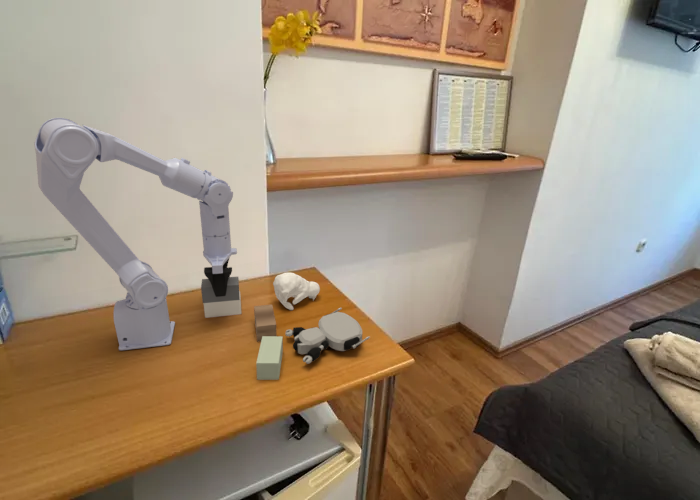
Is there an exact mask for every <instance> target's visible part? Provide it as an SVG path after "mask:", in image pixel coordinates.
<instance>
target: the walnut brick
mask: <svg viewBox="0 0 700 500" xmlns="http://www.w3.org/2000/svg"><path fill="white" fill-rule="evenodd" d="M253 310H254V311H253V312H254V323H255V324H254V326H255V333H256V342H257V343H259V342H261V340H262V336H277V322H276V316H275V312H274V307H273V304H264V305H263V304H262V305H254V306H253Z"/></svg>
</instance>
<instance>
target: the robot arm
mask: <svg viewBox="0 0 700 500" xmlns="http://www.w3.org/2000/svg"><path fill="white" fill-rule="evenodd" d="M33 143H34V150H35V159H36V171H37V173H36V174H37V184H38V187H39V189H40V191H41V192H42V194H43V196H45V197H46V199H47V200H48V201H49V202H50V203H51V205H53V206H54V207H55V209H56V210H57V211H59V213H60V214H61V215H62V216H63V217H64V218H65V219H66V221H68V223H69V224H71V226H72V227H73V228H74V229H75V230H76V231H77V232H78V233H79V234H80V235H81V237H83V239H84V240H85V241H86V242H87V243H88V244H89V245H90V247H92V248H93V250H94V251H96V253H97V254H98V255H99V256H100V257H101V259H103V260H104V262H105V263H106V264H107V265H108V266H109V267H110V268H111V269H112V270H113V272H115V273H116V275H117V276H118V280H119V283H120V285H121V286H122V287H123V288H124V289H125V290H126V291H127V293H126V296H125V299H119V300H117V301H116V302H115V303H114V307H113V323H114V327H115V328H114V329H115V332H116V337H117V341H118V345H119V346H118V351H128V350H135V349H138V350H139V349H145V348H151V347H152V348H153V347H161V346H169V345H171V344H172V341H173V336H174V330H175V326H176V322H175V321H174V320H173V321H172V320H171V321H170V315H169V308H168V301H167V296H168V293H169V286H168V284H167V282H166V281H165V280H164V279H163V278H161V277H160V276H159V275H158V274H157V273H156V272H155V271H154V269H153V268H152V265H150V264H149V263H147V262H145V261H142V260H140V259H139V257H138V256H137V255H136V254H135V253H134V252H133V251H132V249H131V248H130V247H129V246H128V245H127V243H126V242H125V240H123V239H122V238H121V237H120V235H119V234H118V233H117V232H116V231H115V229H114V228H113V227H112V226H111V225H110V223H109V222H108V221H107V220H106V219H105V217H104V216H103V215H102V214H101V212H100V211H98V209H97V208H96V207H95V205H93V203H92V202H91V201H90V200H89V199H88V197H87V196H86V195H85V194H84V193H83V191H82V190H81V189H80V186H81V185H82V184H81V183H82V180H83V178H84V175H85V174H84V173H86V170H87V169H88V168H89V167H90V166H91V165H92V164H93V163H94V162H95V160H97V162H98V161H99V162H100V163H105V162H109V161H114V160H117V161H120V162H121V163H124V164H127V165H130V166H133V167H135V168H138V169H141V170H143V171H145V172H147V173H151V174H152V175H156V176H158V178H159V180H160V182H161V184H162V186H164V187H166V188H169V189H171V190H173V191H176V192H178V193H181V194H183V195H186V197H187V196H188V197H190V198H193V199H197V200H198V201H199V202H198V203H199V215H200V224H201V225H200V226H201V235H202V244H203V251H202V253H203V258H204V259H206V261H207V262H208V263H209V264H210V266H207V267H204V268H203V274H204V276H205V277H206V279H209V281H210V283H211V285H212V288H213V291H214V294H215V296H216V297H221V296H226V291H227V283H228V279H229V277H231V275H232V273H233V267H232V266H230V267H228V266H229V261H230V258H231V256H232V255H237V253H238V250H237V248H235V247H233V248H232V240H231V239H232V238H231V227H230V225H231V224H230V212H229V205H230V204H231V202H232V200H233V197H234V192H233V191H231V190H232V189H231V187H230V185H229V183H228V182H226V181H225V180H223V179H221V178H218V177H216V176H215V175H212V172H211V171H209V170H207V169H204V170H202V169H200V168H198V167H196V166H194V165H192V164H191V160H188V159H186V158H184V157H181V158H180V159H179V158H177V157H174V158H169V159H166V160H164V159H162V158H160V157H158V156H156V155H154V154H152V153H150V152H148V151H147V150H144V149H142V148H140V147H138V146H137V145H134V144H132V143H130V142H128V141H126V140H124V139H123V138H120V137H117V136H115V135H114V134H111V133H108V132H107V131H102V130H101V129H98V128H95V127H91V126H88V125H84V124H82V125H79V124H78V123H77V122H75V121H73V120H70V118H69V119H68V118H65V117H52V118H50V119H47V120H46V121H44V122H43V123H42V124H41V125H40V128H39V129H38V132H37V135H36V137H35V140H34V142H33Z"/></svg>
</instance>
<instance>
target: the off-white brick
mask: <svg viewBox="0 0 700 500" xmlns="http://www.w3.org/2000/svg"><path fill="white" fill-rule="evenodd" d="M239 296H240V300H233V301H222V302H211V303H203V312H204V318H205V319H206V318H207V319H208V318H217V317H226V316H235V315H242V301H241V291H240V290H239Z"/></svg>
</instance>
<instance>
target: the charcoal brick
mask: <svg viewBox="0 0 700 500" xmlns="http://www.w3.org/2000/svg"><path fill="white" fill-rule="evenodd" d="M239 280H240V279H239V276H230V277H229V279H228V283H227V291H226V296H221V297H216V296H215V294H214V291H213V288H212V285H211V283H210V281H209V279H208V278H202V279H201V285H200V289H201V300H202V304H204V303H211V302H222V301H233V300H240V298H241V295H240V296H239V291H240V282H239Z"/></svg>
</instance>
